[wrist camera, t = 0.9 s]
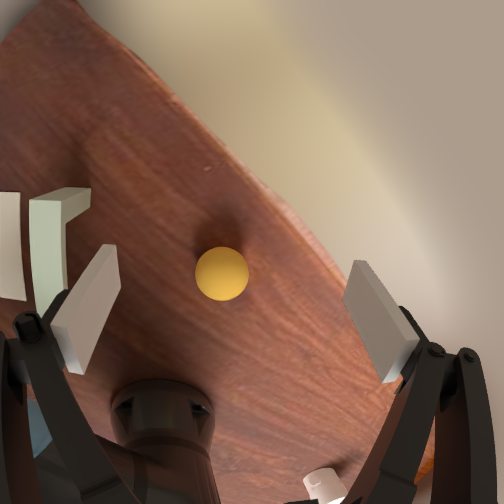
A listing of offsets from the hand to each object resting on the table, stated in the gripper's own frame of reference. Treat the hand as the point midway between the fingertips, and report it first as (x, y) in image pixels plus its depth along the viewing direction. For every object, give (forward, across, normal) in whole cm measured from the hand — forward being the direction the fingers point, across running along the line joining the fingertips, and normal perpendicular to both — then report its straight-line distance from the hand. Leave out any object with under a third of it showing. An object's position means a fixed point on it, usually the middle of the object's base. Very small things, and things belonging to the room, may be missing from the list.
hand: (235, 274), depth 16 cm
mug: (+9, -25, +62) cm, 68 cm away
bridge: (+13, +17, +7) cm, 23 cm away
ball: (+13, 0, +8) cm, 15 cm away
